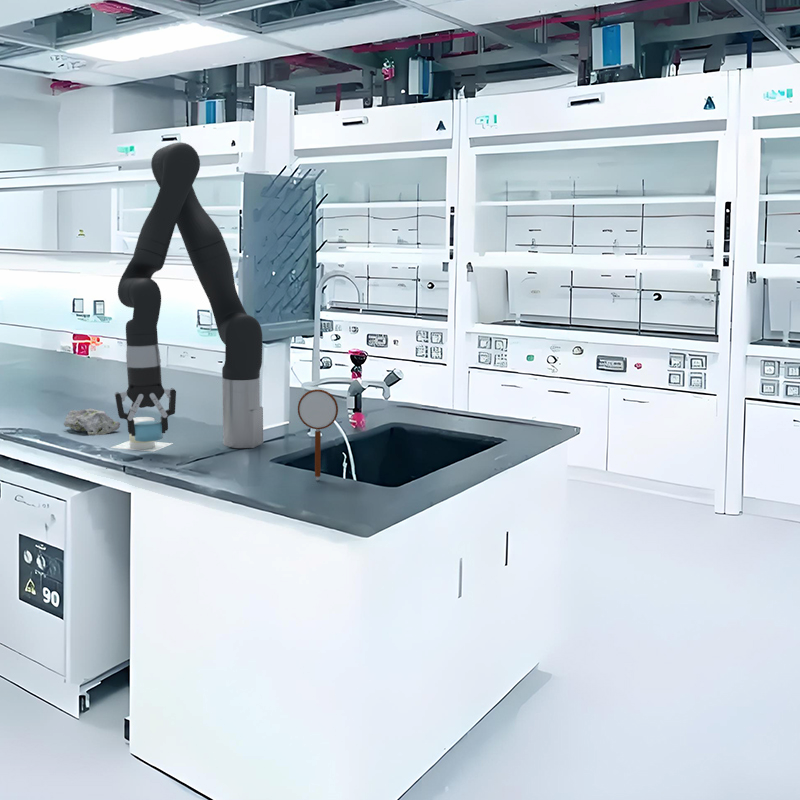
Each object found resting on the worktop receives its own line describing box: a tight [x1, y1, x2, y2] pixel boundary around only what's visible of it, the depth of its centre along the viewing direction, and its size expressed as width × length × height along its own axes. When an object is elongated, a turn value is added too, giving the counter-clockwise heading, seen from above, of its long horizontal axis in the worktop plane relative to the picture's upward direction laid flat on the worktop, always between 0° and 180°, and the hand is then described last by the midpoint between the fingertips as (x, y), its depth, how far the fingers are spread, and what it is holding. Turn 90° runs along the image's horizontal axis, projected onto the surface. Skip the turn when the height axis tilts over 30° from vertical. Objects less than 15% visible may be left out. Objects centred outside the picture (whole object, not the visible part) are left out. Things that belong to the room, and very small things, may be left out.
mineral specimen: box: [63, 407, 121, 436], centre depth 228 cm, size 16×7×7 cm, turn 70°
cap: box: [134, 420, 164, 442], centre depth 203 cm, size 6×6×4 cm
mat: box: [110, 440, 174, 453], centre depth 214 cm, size 12×9×1 cm
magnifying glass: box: [297, 389, 339, 482], centre depth 184 cm, size 9×2×20 cm, turn 89°
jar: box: [128, 416, 156, 451], centre depth 211 cm, size 6×6×7 cm
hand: (148, 433), depth 203 cm, fingers closed on cap, 6 cm apart
